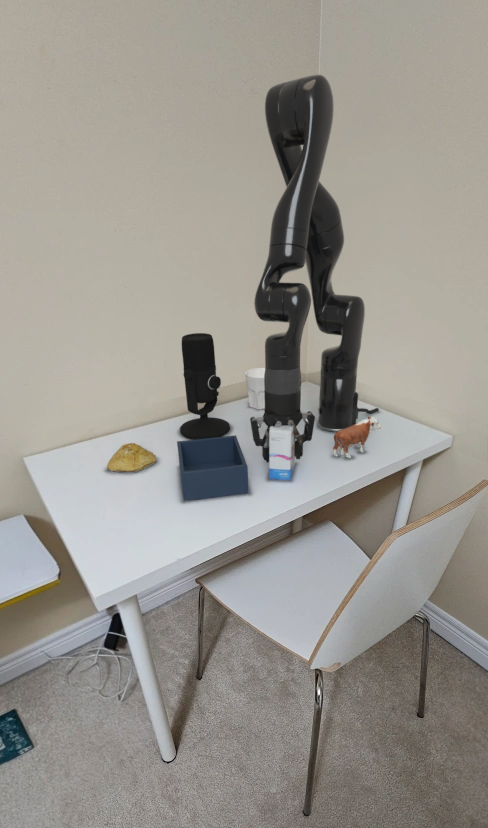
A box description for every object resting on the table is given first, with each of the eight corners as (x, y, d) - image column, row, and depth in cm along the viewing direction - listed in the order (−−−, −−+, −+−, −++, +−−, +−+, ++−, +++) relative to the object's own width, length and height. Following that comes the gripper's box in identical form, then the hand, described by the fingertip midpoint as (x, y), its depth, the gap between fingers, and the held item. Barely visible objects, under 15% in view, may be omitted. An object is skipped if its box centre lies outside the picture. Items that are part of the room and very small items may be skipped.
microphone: (210, 444, 122) (202, 345, 109) (169, 434, 128) (157, 339, 116) (239, 425, 132) (235, 333, 119) (200, 417, 138) (192, 328, 125)
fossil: (122, 452, 105) (100, 440, 111) (121, 478, 107) (99, 465, 113) (164, 448, 113) (141, 437, 119) (162, 472, 115) (139, 460, 121)
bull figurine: (381, 448, 116) (385, 417, 112) (338, 463, 110) (340, 430, 106) (369, 442, 119) (372, 412, 115) (326, 456, 114) (328, 424, 110)
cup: (285, 403, 145) (285, 371, 140) (263, 413, 139) (262, 380, 134) (261, 396, 151) (260, 365, 146) (239, 405, 145) (237, 373, 140)
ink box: (291, 481, 104) (291, 431, 98) (268, 479, 105) (267, 430, 99) (295, 463, 111) (296, 415, 105) (274, 462, 112) (274, 414, 106)
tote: (237, 460, 113) (236, 435, 110) (248, 493, 100) (247, 465, 97) (180, 466, 112) (176, 441, 108) (183, 501, 98) (180, 473, 95)
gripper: (311, 378, 102) (308, 449, 111) (245, 384, 100) (247, 455, 109) (321, 389, 96) (318, 463, 104) (251, 396, 94) (253, 470, 102)
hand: (282, 459), depth 106 cm, fingers closed on ink box, 6 cm apart
